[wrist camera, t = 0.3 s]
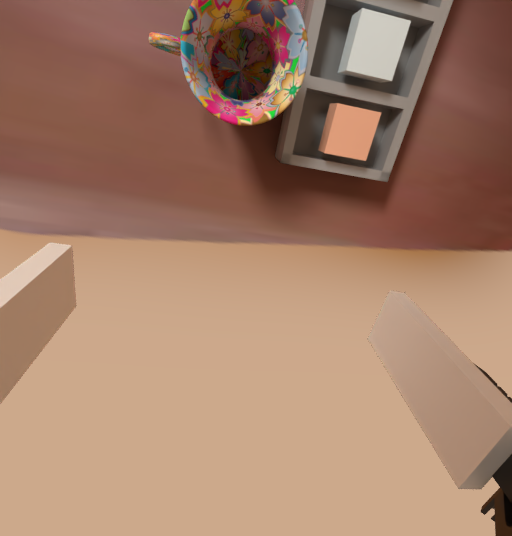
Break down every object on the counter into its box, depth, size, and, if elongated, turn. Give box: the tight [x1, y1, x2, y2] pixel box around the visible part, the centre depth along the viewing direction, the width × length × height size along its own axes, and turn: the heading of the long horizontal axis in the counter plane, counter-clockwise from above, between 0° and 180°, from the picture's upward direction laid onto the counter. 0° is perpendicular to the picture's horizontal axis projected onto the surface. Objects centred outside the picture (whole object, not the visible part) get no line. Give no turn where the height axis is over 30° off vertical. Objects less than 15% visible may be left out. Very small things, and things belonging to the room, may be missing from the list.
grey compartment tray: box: [275, 0, 453, 182], centre depth 30 cm, size 22×12×4 cm, turn 170°
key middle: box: [338, 8, 411, 83], centre depth 28 cm, size 4×4×2 cm
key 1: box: [318, 103, 381, 161], centre depth 31 cm, size 4×4×2 cm
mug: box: [149, 0, 308, 126], centre depth 27 cm, size 12×9×11 cm
